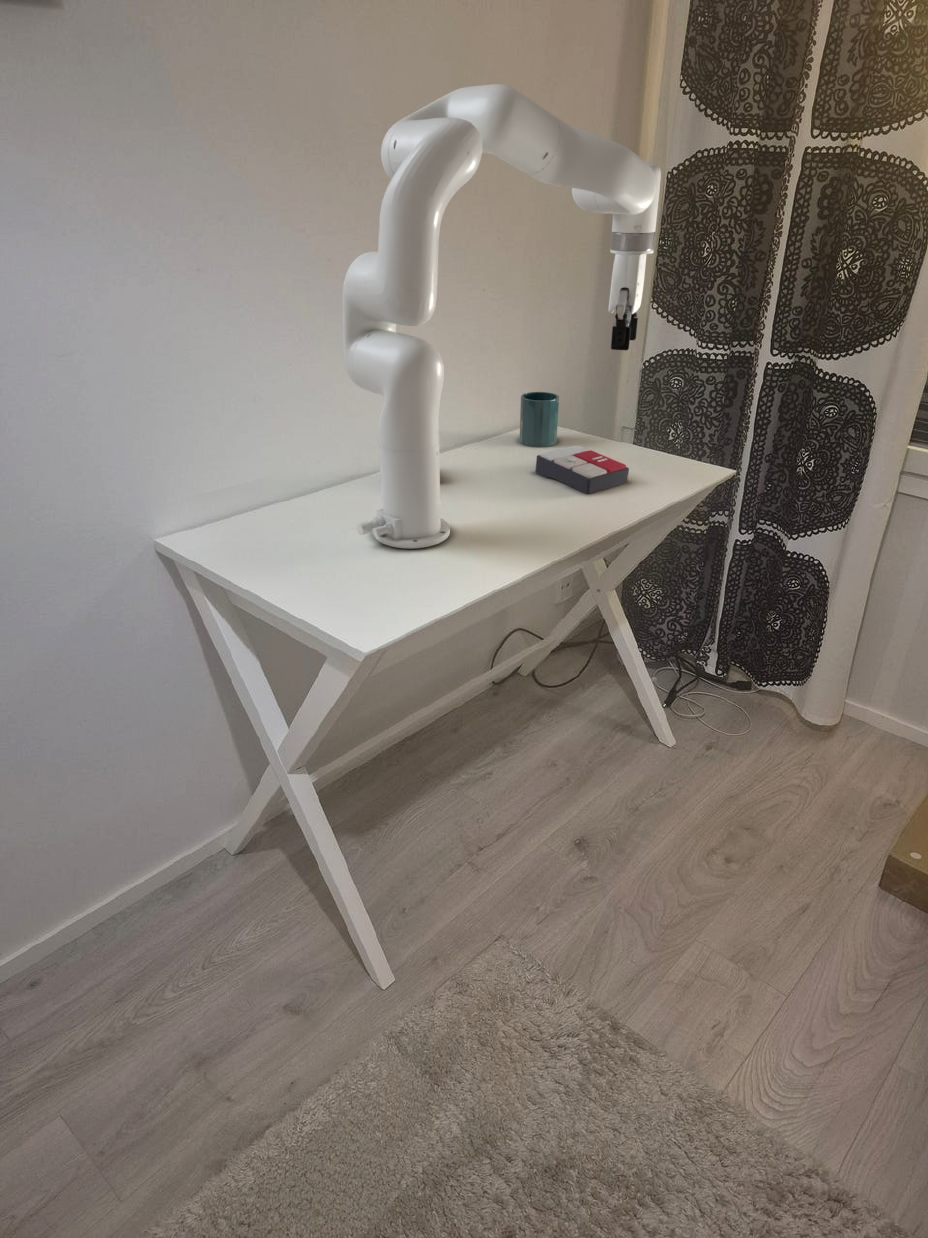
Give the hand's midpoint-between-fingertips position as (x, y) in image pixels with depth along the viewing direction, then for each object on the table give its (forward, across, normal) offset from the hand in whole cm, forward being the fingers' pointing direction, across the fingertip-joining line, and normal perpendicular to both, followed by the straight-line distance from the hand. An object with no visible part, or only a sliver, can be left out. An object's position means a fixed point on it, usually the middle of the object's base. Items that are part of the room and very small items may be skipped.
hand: (623, 344), depth 150 cm
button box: (+25, +6, -5) cm, 26 cm away
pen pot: (+24, -15, -19) cm, 34 cm away
